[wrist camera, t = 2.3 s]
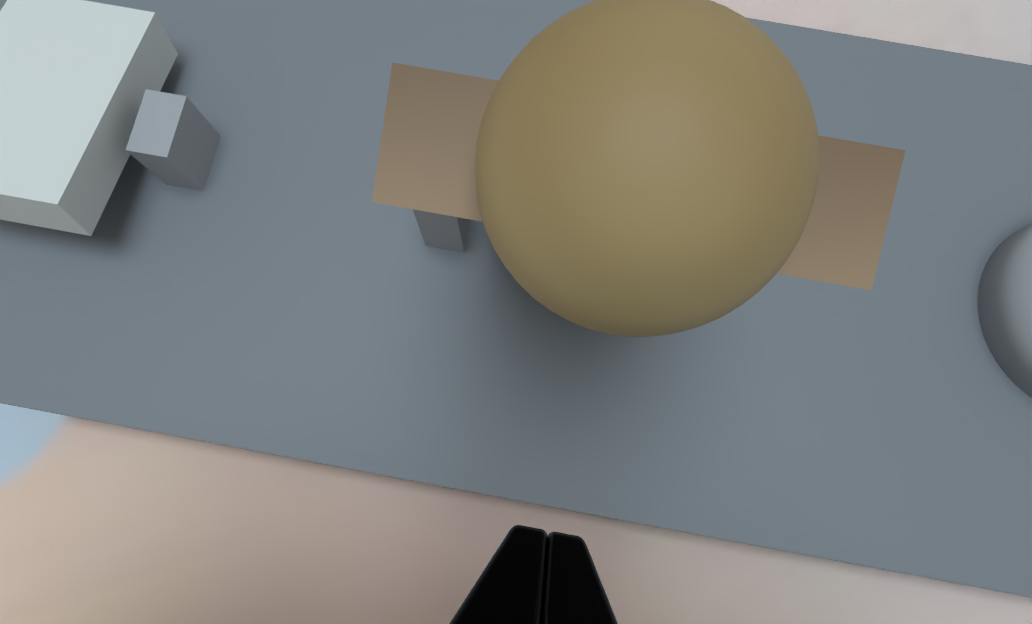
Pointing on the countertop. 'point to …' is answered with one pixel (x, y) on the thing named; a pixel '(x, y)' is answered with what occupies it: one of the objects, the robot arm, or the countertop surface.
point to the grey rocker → (71, 105)
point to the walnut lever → (641, 167)
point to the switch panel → (530, 325)
